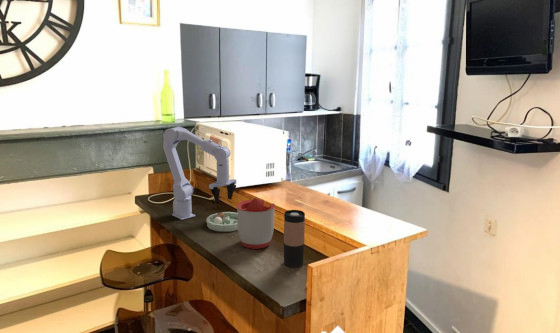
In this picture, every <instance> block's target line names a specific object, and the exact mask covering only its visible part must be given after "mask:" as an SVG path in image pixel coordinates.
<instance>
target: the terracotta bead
mask: <svg viewBox="0 0 560 333" xmlns="http://www.w3.org/2000/svg"><path fill="white" fill-rule="evenodd" d="M222 212H223V211H222ZM222 212H221V211H219V212H216V213H217V215H216V217H220V218H221V219H222V220H223V218H224V217H225V215H224V213H222Z"/></svg>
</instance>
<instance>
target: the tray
mask: <svg viewBox="0 0 560 333" xmlns="http://www.w3.org/2000/svg"><path fill="white" fill-rule="evenodd" d="M217 213H218V212H216V213H213V214H210V215H209V216H207V217H206V227H207V228H208V229H209V230H211V231H214V232H222V233H227V232H228V233H229V232H235V231H238V217H237V212H234V211H222V213H224V215H225V217H224V218H223V220H222V224H215V223H214V222H213V221H214V218H216V215H217Z"/></svg>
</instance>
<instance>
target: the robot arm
mask: <svg viewBox="0 0 560 333" xmlns="http://www.w3.org/2000/svg"><path fill="white" fill-rule="evenodd" d="M162 137H163V141H162V142H163V144H162V148H163V151H164V154H165V158H166V160H167V163H168V167H169V169H170V173H171V175H172V179H173V184H172V189H173V197H174V199H173V201H172V202H173V203H172V210H173V212H172V214H171V216H173V217H175V218H177V219H179V220H186V219H190V218H194V217H196V214H194V213H192V212H193V210H192V194H194V187H193V185H191V183H190V181H189V180H188V179H187V178H186V176H185V173H184V170H183V167H182V164H181V161H180V156H179V154H178V151H177V149H176V148H177V146H178V143H180V142H181V141H187V142H191V143H192V144H195V145H197V146H199V147H200V148H201V151H203V152H205V153H207V154H209V155H210V156H213V157H214V159H215V161H216V181H215V182H213V183H209V184H208V185H209V186H208V189H209V190H210V192H211V194H212V196H213V199H214V203H216V204H219V203H220V193H221V189H219V188H221V187H225V186H226V191H227V199H228V200H230V201H231V200H232V199H233V194H234V192H235V190H236V189H237V179H234V178H233V179H230V163H229V162H230V160H229V157H230V156H231V149H229V147H227V146H222V145H221V144H217V143H216V142H214V140H212V139H206V140H204V139H203V138H201V137H199V136H198V135H196V134H194V133H193V132H191V131H189V130H188V129H187V128H184V127H183V126H179V125H178V126H175V127H172V128H170V127H169V128H167V129H166V130H164V132H163V134H162Z"/></svg>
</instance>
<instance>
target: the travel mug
mask: <svg viewBox="0 0 560 333" xmlns="http://www.w3.org/2000/svg"><path fill="white" fill-rule="evenodd" d="M283 218H284V219H283V264H284V266H285V267H287V268H290V269H298V268H300V267H302V266H303V265H304V254H305V252H304V251H305V233H306V232H305V225H306V224H305V223H306V221H305V220H306V213H305V212H304V211H303V210H299V209H287V210H285V211H284V216H283Z"/></svg>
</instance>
